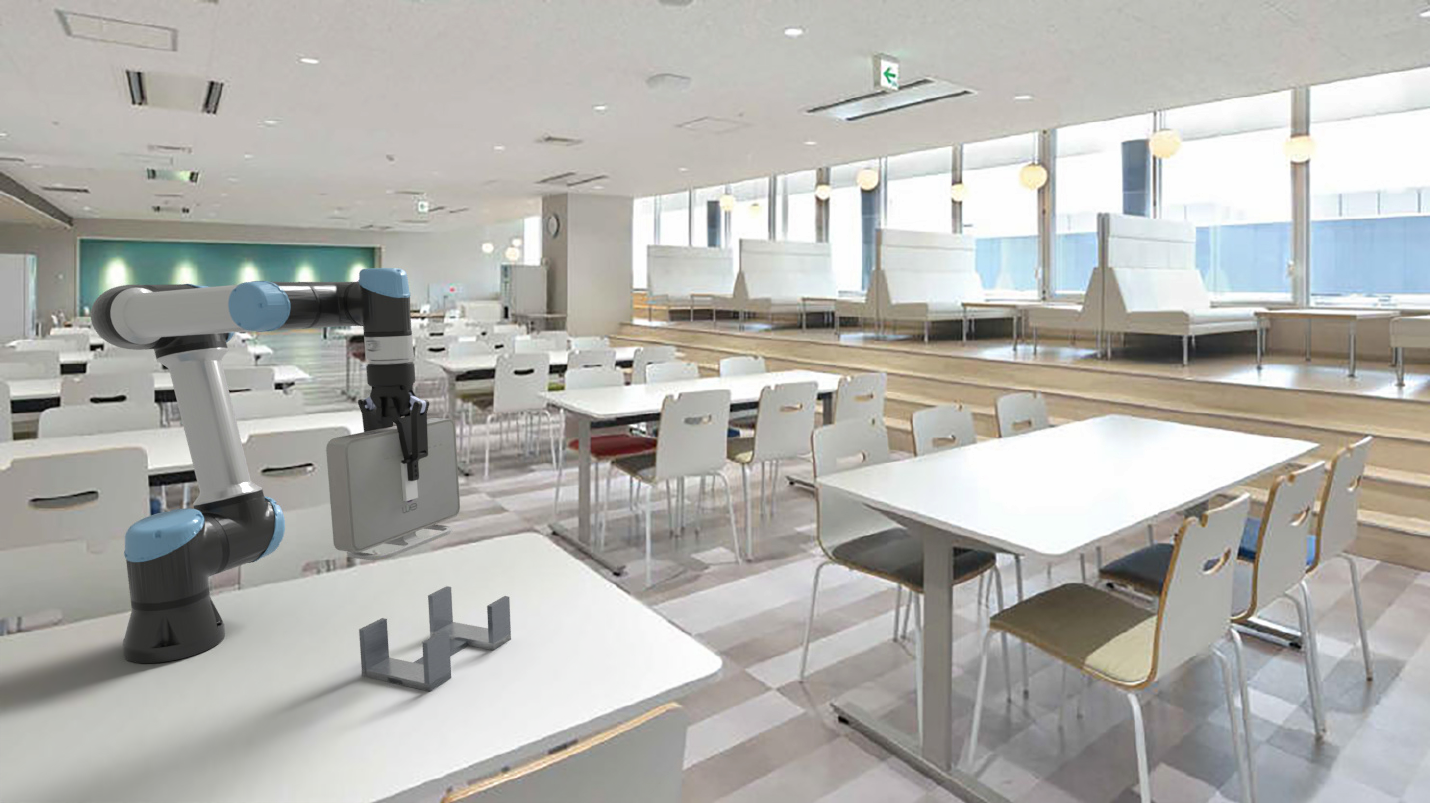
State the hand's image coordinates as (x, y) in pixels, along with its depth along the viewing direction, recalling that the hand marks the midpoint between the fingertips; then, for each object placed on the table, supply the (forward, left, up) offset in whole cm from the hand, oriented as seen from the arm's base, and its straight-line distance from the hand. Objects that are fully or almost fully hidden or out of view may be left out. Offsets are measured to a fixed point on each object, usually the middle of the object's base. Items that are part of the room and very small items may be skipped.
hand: (400, 497), depth 140 cm
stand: (+7, 0, -27) cm, 28 cm away
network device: (0, 0, -8) cm, 8 cm away
